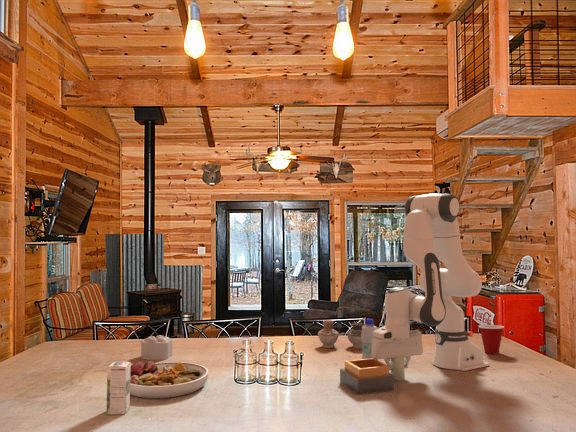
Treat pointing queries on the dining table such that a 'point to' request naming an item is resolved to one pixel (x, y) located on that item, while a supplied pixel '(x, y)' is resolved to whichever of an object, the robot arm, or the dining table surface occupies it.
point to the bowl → (166, 379)
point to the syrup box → (118, 388)
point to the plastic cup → (491, 337)
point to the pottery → (330, 335)
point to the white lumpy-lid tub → (156, 348)
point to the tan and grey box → (366, 376)
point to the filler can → (398, 368)
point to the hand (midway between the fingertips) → (397, 368)
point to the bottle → (367, 338)
